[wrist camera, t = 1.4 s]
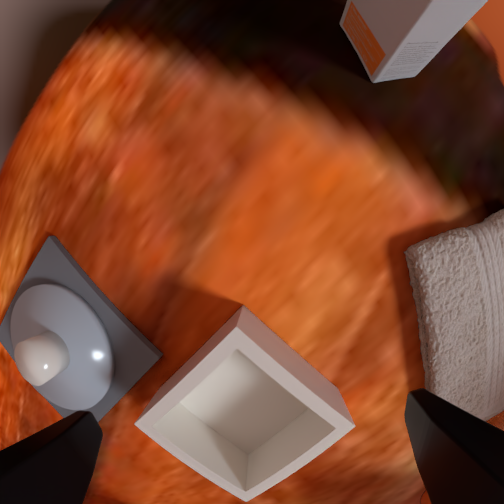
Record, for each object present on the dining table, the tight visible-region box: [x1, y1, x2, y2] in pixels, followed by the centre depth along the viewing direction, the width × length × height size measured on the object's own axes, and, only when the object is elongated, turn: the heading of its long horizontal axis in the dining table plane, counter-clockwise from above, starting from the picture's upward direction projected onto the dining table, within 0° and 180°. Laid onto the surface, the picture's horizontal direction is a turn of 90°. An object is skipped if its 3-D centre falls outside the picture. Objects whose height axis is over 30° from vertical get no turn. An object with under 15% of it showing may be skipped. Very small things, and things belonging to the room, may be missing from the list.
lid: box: [10, 283, 115, 410], centre depth 18 cm, size 10×10×4 cm
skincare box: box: [340, 0, 488, 83], centre depth 13 cm, size 6×4×12 cm
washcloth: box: [404, 209, 504, 421], centre depth 18 cm, size 12×18×3 cm, turn 17°
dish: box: [135, 305, 355, 502], centre depth 18 cm, size 9×9×5 cm
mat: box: [0, 236, 163, 422], centre depth 20 cm, size 12×12×1 cm
